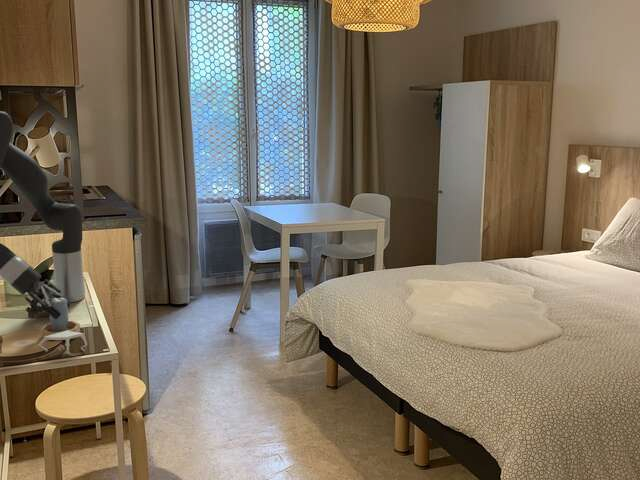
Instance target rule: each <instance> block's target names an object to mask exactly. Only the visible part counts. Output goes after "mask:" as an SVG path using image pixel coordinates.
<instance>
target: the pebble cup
mask: <svg viewBox="0 0 640 480" xmlns="http://www.w3.org/2000/svg"><path fill="white" fill-rule="evenodd" d="M49 302H50V304H51V306H53V307H54V308H56V309H57V310H58V311H59V312H60V313H61V315H60V316H59V317H58V318H57V319H54V318H53V317H52V316H51V315H50V314H49V323H50V326H51V332H63V331H67V330H69V321H70V320H69V311H68V308H67V299H65V298H53V299H51V300H49Z"/></svg>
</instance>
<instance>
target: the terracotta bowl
mask: <svg viewBox="0 0 640 480" xmlns="http://www.w3.org/2000/svg"><path fill="white" fill-rule="evenodd" d="M68 321H69V330H68V331H72V332H78V333H81V324H80V323H79V322H77V321H75V320H68ZM56 333H60V332H51V326H50V322H49V323H46V324H44V325H43V326H42V327H41V328H40V336H41V338H42V339H43V338H44V336H48V335H52V334H56ZM46 341H49V339H47V340H46Z"/></svg>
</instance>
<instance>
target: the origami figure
mask: <svg viewBox="0 0 640 480" xmlns="http://www.w3.org/2000/svg"><path fill="white" fill-rule="evenodd" d="M79 337H80V338H81V339H82V340H83V342H84V344H85V345H83V346H81V347H80V349H81V350H82V351H84V352H85V349H84V347H86V346H87V347H88V342H87V339H86V337H85V333H83V332H79V333H78V332H72V331H68V330H67V331H63V332H60V333H56V334H52V335H48V336H44V338H43V337H42V340H41V341H39V342H38V345H37V346H39V347H40V348H41V349H43V350H45V353H48V351H49V349H47V348H46V347H44V346H43V345H42V344H43V343H44V342H46V341H49V340H62V341H65V345H64V346H66V347H65V349H66V354H67V355H70V354H71V353H70V346H71V345H70V340H71V339H75V338H79ZM47 339H49V340H47Z"/></svg>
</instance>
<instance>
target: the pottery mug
mask: <svg viewBox="0 0 640 480" xmlns="http://www.w3.org/2000/svg"><path fill="white" fill-rule="evenodd" d="M49 300H51V299H49ZM49 300H48V301H49ZM45 304H46V303H45ZM39 307H40V306H39ZM25 312H27V317H28V318H31V319H34V317H35V316H36V317H40V312H39V311H38V310H37V309H36V308H35V307H33V306H32V305H31V304H30V303H29V306H27V308H26V309H25Z"/></svg>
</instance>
